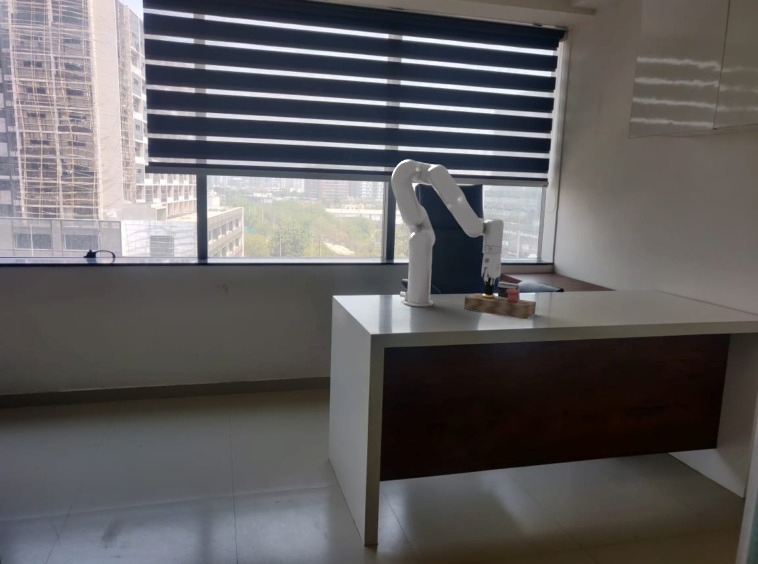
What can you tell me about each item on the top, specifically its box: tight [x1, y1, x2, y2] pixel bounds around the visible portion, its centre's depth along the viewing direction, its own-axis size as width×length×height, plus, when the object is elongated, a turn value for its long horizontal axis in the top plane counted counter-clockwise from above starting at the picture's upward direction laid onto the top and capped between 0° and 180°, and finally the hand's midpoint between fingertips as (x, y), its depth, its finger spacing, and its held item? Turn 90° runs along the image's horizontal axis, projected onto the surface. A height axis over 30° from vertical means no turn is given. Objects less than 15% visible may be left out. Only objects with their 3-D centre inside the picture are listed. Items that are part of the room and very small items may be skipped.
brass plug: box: [481, 292, 496, 299], centre depth 228 cm, size 5×5×6 cm
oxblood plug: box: [506, 289, 520, 303], centre depth 222 cm, size 5×5×6 cm
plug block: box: [463, 292, 537, 320], centre depth 225 cm, size 26×11×5 cm, turn 58°
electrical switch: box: [497, 281, 521, 300], centre depth 242 cm, size 9×5×9 cm, turn 57°
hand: (488, 294), depth 227 cm, fingers closed
